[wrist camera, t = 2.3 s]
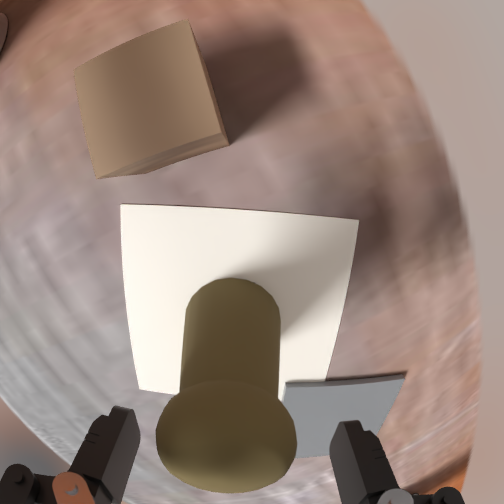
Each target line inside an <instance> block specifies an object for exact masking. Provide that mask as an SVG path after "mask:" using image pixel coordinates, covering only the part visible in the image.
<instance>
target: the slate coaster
mask: <svg viewBox="0 0 504 504" xmlns="http://www.w3.org/2000/svg"><path fill="white" fill-rule="evenodd" d="M404 380H405V378H404V376H403V375H402V374H401V375H393V376H385V377H376V378H366V379H354V380H340V381H325V382H291V383H285V386H284V391H283V396H282V401H281V402H282V404H283V405H284V406H285V408H286V409H287V410H288V412H289V414H290V415H291V417H292V419H293V421H294V425H295V430H296V436H297V451H296V456H295V458H305V457H317V456H327V455H330V454H329V447H330V442H331V440H332V438H333V435H334V433H335V431H336V428H337V426H338V424H339V422H341V421H350V420H359V421H360V422H361V424H362V427H363V429H364V431H367V430H371V431H372V432H373V433H374V434H375V435H377V433H378V431H379V430H380V428H381V426H382V424H383V422H384V420H385V419H386V417H387V415H388V413H389V411H390V409H391V407H392V405H393V403H394V401H395V399H396V397H397V395H398V393H399V391H400V389H401V386H402V384H403V382H404Z"/></svg>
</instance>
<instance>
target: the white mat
mask: <svg viewBox="0 0 504 504" xmlns="http://www.w3.org/2000/svg"><path fill="white" fill-rule="evenodd" d="M358 225H359V220H354V219H345V218H335V217H325V216H315V215H304V214H292V213H280V212H268V211H254V210H240V209H224V208H207V207H187V206H164V205H133V204H121V244H122V263H123V277H124V288H125V299H126V308H127V316H128V324H129V331H130V338H131V345H132V351H133V357H134V363H135V368H136V374H137V379H138V384H139V389H142V390H148V391H154V392H161V393H168V394H176V395H177V394H178V393H179V388H180V372H181V358H182V346H183V334H184V323H185V313H186V308H187V306H188V303H189V301H190V299H191V297H192V296H193V295H194V294H195V293H196V292H197V291H198V290H199V289H200V288H201V287H202V286H204V285H206V284H208V283H210V282H212V281H214V280H219V279H225V278H238V279H246V280H249V281H251V282H253V283H255V284H258V285H260V286H262V287H263V288H264V289H265V290H266V291H267V292H268V293H269V294H271V295H272V296H273V298H274V300H275V302H276V304H277V305H278V307H279V312H280V318H281V336H280V366H279V391H278V399H279V400H280V401H282V396H283V391H284V386H285V383H291V382H325V378H326V375H327V371H328V368H329V364H330V361H331V357H332V353H333V349H334V345H335V341H336V337H337V333H338V329H339V325H340V321H341V316H342V312H343V307H344V303H345V298H346V293H347V289H348V284H349V278H350V273H351V268H352V262H353V257H354V251H355V245H356V238H357V232H358Z"/></svg>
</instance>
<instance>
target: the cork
mask: <svg viewBox="0 0 504 504" xmlns="http://www.w3.org/2000/svg"><path fill="white" fill-rule="evenodd" d="M280 336H281V318H280V312H279V307H278V305H277V304H276V302H275V300H274V298H273V296H272V295H271V294H269V293H268V292H267V291H266V290H265V289H264V288H263V287H262V286H260V285H258V284H255V283H253V282H251V281H249V280H246V279H238V278H225V279H219V280H214V281H212V282H210V283H208V284H206V285H204V286H202V287H201V288H200V289H199V290H198V291H197V292H196V293H195V294H194V295H193V296H192V297H191V299H190V301H189V303H188V306H187V308H186V313H185V323H184V334H183V346H182V358H181V372H180V388H179V393H178V394H177V395H175V396H174V397H173V398H171V400H170V401H169V402H168V404H167V405H166V407H165V408H164V410H163V412H162V414H161V416H160V418H159V421H158V424H157V428H156V444H157V451H158V455H159V457H160V459H161V461H162V463H163V464H164V466H165V467H166V468H167V470H168V471H169V472H170V473H171V474H172V475H174V476H175V477H177V478H178V479H180V480H181V481H183V482H185V483H187V484H189V485H191V486H194V487H196V488H199V489H203V490H207V491H211V492H219V493H244V492H249V491H254V490H258V489H261V488H263V487H266V486H268V485H270V484H273V483H275V482H276V481H278V480H279V479H280V478H282V477H283V476H284V475H285V474H286V472H287V471H288V469H289V468H290V466H291V464H292V462H293V460H294V458H295V456H296V451H297V436H296V430H295V425H294V421H293V419H292V417H291V415H290V414H289V412H288V410H287V409H286V408H285V406H284V405H283V404H282V402H281V401H280V400H279V399H278V391H279V366H280Z"/></svg>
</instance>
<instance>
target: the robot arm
mask: <svg viewBox="0 0 504 504" xmlns="http://www.w3.org/2000/svg"><path fill="white" fill-rule="evenodd" d="M7 27H8V21H7V17H6V15H5V14H3V13H1V12H0V52H1V49H2V47H3V44H4V41H5V37H6V34H7ZM139 444H140V430H139V427H138V423H137V420H136V416H135V413H134V410H133V409H129V408H124V407H120V406H114V407H113V408H112V410H111V412H110V414H109V416H105V415H101V416H100V417H99V418H97V419H96V420H95V421H94V422H93V423H92V425H91V427H90V429H89V431H88V434H87V435H86V437H85V439H84V441H83V443H82V445H81V447H80V449H79V451H78V453H77V455H76V457H75V459H74V461H73V463H72V465H71V467H70V469H69V470H68V471H67V472H63V473H60V474H58V475H57V476H46V475H39V474H33V473H32V472H31V471H30V469H29V468H27V467H26V466H24V465H21V464H13V465H11V466H9V467H8V468H7V469H6V471H5V473H4V475H3V477H2V479H1V481H0V504H111V503H112V504H121V501H122V497H123V494H124V491H125V488H126V484H127V481H128V478H129V475H130V472H131V469H132V466H133V462H134V459H135V456H136V453H137V450H138V447H139ZM329 454H330V459H331V462H332V466H333V470H334V474H335V478H336V482H337V486H338V490H339V494H340V498H341V502H342V504H465V503H464V501H463V498H462V496H461V494H460V492H459V491H458V490H457V489H455V488H453V487H443V488H441V489H439V490H438V491H437V492H436V493H435V494H431V495H411V494H410V493H408V492H407V491H405V490H403V489H401V488H400V487H399V486H398V484H397V481H396V479H395V476H394V474H393V471H392V469H391V467H390V464H389V462H388V459H387V458H386V455H385V452H384V450H383V447H382V445H381V443H380V440H379V438H378V437H377V436H376V435H375V434H374V433H373V432H372V431H371V430H367V431H364V429H363V427H362V424H361V422H360V421H359V420H350V421H341V422H339V424H338V426H337V428H336V431H335V433H334V435H333V438H332V440H331V442H330V447H329Z"/></svg>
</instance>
